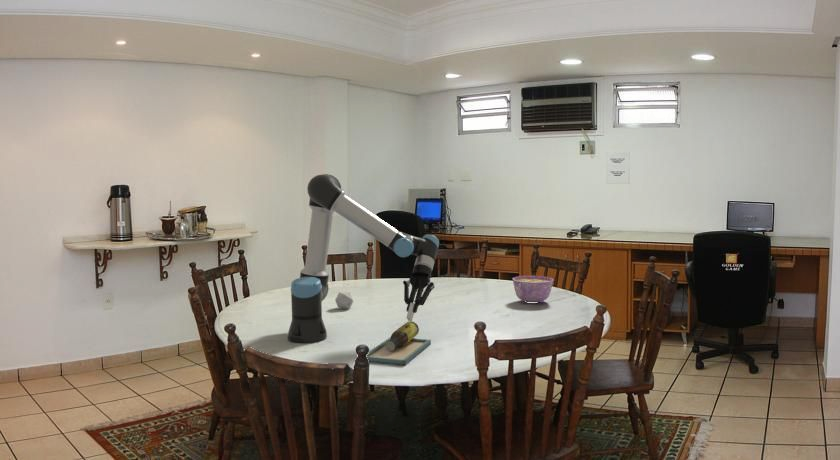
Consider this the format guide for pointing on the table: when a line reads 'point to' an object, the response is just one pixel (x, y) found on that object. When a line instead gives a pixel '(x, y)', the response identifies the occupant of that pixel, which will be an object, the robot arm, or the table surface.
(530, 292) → the bowl of food
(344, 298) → the die
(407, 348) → the teal tray
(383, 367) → the table surface
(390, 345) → the sauce bottle
